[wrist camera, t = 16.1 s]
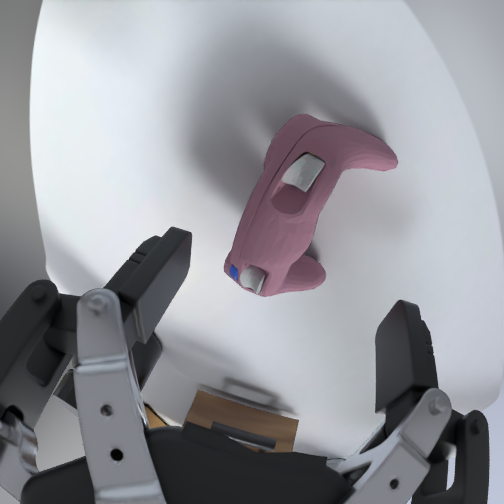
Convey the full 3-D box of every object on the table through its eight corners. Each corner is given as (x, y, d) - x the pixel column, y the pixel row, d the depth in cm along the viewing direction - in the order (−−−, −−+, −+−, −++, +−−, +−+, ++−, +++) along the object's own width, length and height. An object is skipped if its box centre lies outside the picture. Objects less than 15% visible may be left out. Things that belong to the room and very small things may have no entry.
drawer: (199, 373, 30) (170, 441, 23) (312, 407, 29) (298, 477, 22) (195, 419, 42) (177, 463, 35) (270, 443, 41) (258, 487, 34)
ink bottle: (85, 304, 30) (31, 378, 21) (127, 298, 27) (62, 395, 17) (131, 356, 35) (91, 427, 26) (179, 358, 31) (136, 448, 22)
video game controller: (335, 108, 14) (254, 96, 9) (407, 151, 12) (369, 159, 7) (274, 241, 20) (197, 282, 15) (325, 283, 19) (258, 343, 14)
